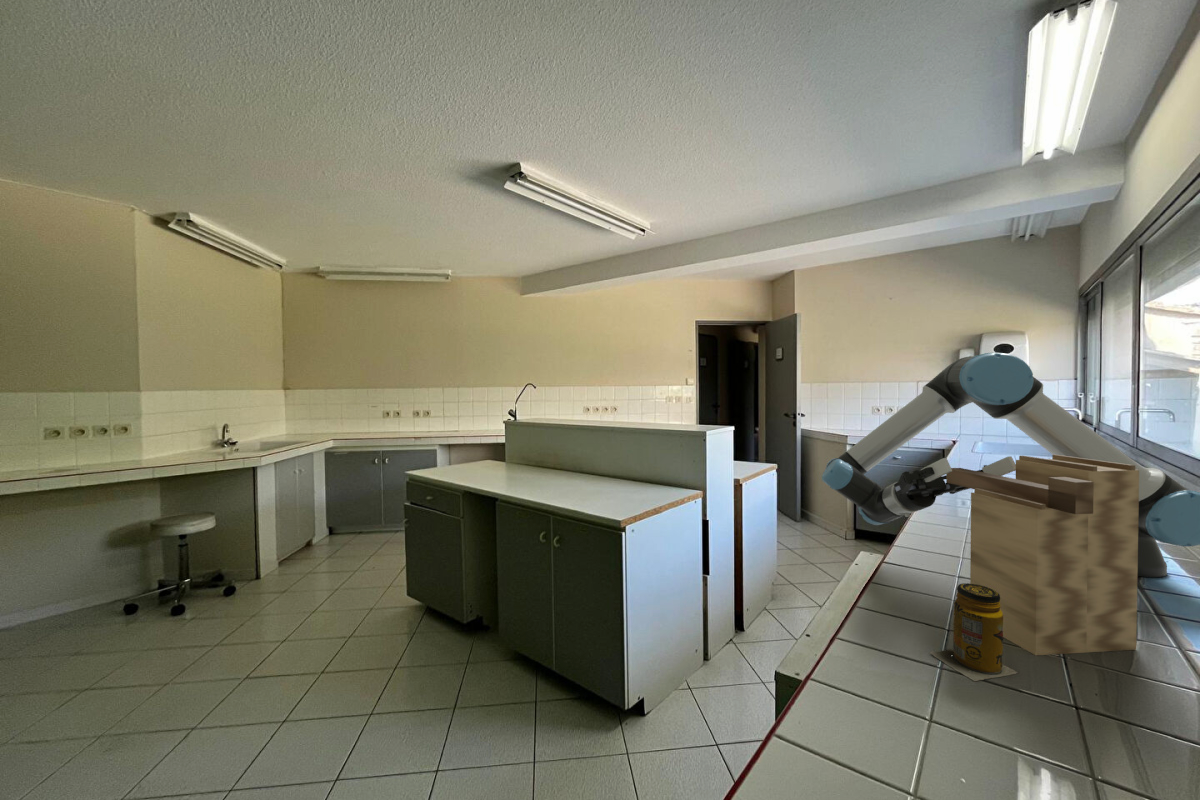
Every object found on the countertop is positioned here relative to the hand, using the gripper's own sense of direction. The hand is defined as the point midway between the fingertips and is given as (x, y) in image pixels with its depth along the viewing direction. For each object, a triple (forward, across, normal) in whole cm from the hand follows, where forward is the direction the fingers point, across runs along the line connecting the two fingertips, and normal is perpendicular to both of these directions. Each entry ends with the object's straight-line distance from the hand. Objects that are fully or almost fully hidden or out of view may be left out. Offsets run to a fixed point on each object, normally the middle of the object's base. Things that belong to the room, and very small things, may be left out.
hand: (980, 463), depth 88 cm
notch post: (-7, -4, -29) cm, 31 cm away
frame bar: (+2, 0, -7) cm, 8 cm away
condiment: (-1, +16, -33) cm, 37 cm away
